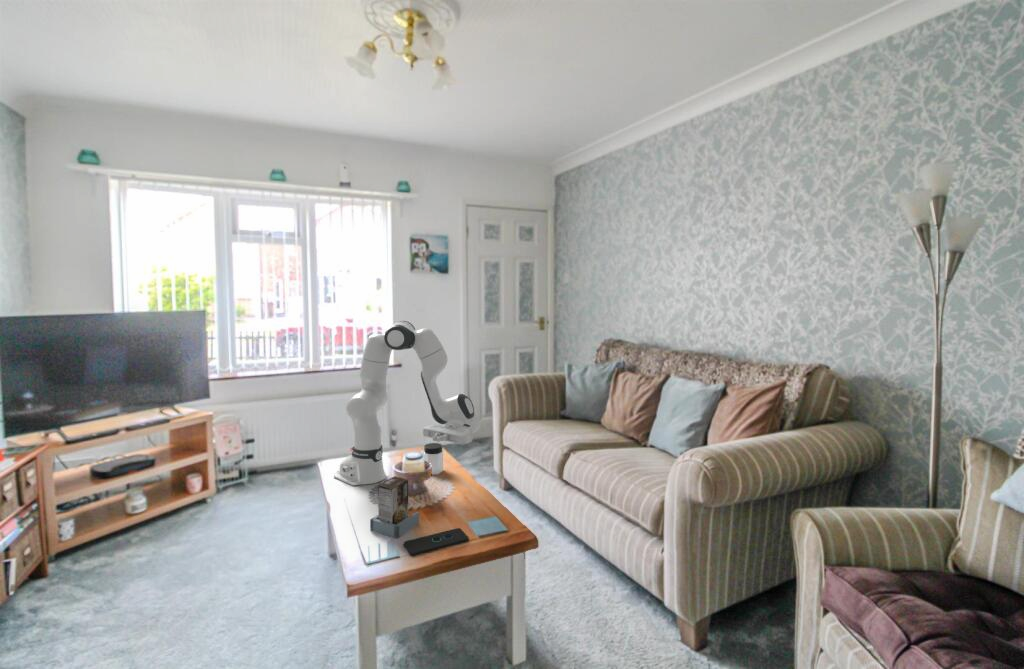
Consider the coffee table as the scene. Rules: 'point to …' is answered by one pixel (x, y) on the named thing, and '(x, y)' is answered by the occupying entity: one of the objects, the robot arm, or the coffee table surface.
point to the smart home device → (435, 541)
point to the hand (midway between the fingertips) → (435, 439)
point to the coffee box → (393, 500)
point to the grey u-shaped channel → (394, 526)
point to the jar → (434, 456)
